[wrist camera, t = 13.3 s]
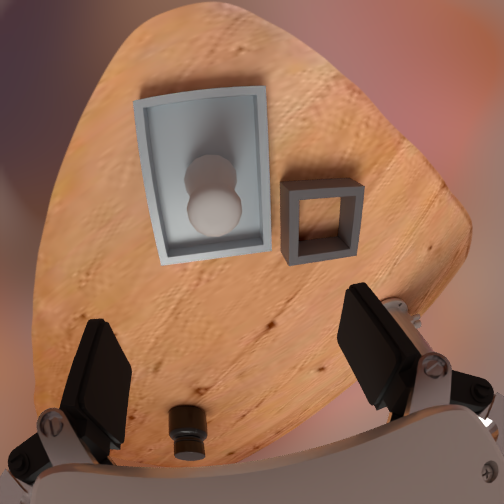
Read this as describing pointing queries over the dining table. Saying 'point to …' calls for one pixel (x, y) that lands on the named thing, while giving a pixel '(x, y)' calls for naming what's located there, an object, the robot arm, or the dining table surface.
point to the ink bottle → (188, 432)
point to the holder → (322, 247)
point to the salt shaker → (212, 195)
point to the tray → (194, 146)
